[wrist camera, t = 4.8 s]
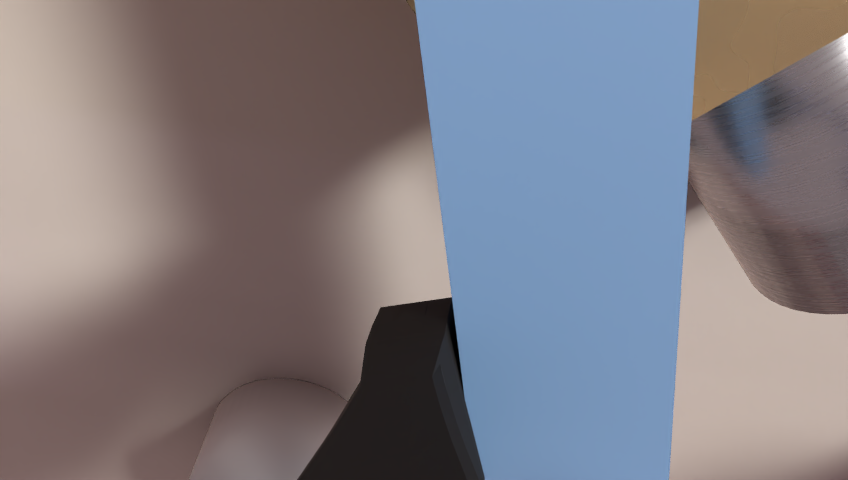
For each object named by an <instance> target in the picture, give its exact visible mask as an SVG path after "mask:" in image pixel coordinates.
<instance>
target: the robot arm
mask: <svg viewBox="0 0 848 480" xmlns="http://www.w3.org/2000/svg"><path fill="white" fill-rule="evenodd" d="M297 480H485V476H484V472H483V468H482V465H481V461H480V457H479V453H478V449H477V445H476V441H475V437H474V433H473V429H472V425H471V421H470V418H469V414H468V410H467V406H466V402H465V397H464V389H463V381H462V373H461V365H460V357H459V349H458V341H457V333H456V325H455V318H454V310H453V302H452V298H444V299H437V300H430V301H423V302H416V303H409V304H402V305H395V306H388V307H381V308H380V310H379V312H378V315H377V317H376V319H375V321H374V323H373V325H372V328H371V331H370V334H369V336H368V339H367V342H366V346H365V353H364V360H363V367H362V374H361V381H360V383H359V385H358V386H357V388H356V390H355V391H354V393H353V394H352V396H351V398H350V399H349V401H348V403H347V404H346V406H345V408H344V409H343V411H342V413H341V414H340V416H339V418H338V419H337V421H336V422H335V424H334V426H333V427H332V429H331V430H330V432H329V433H328V435H327V437H326V438H325V440H324V441H323V443H322V444H321V445H320V447H319V448H318V450H317V451H316V453H315V454H314V456H313V457H312V459H311V460H310V461H309V463H308V464H307V466H306V467H305V469H304V470H303V472H302V473H301V475H300V476H299V477H298V479H297Z"/></svg>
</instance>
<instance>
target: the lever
mask: <svg viewBox="0 0 848 480" xmlns="http://www.w3.org/2000/svg"><path fill="white" fill-rule="evenodd" d="M414 1H415V9H416V17H417V25H418V33H419V41H420V49H421V56H422V64H423V72H424V80H425V88H426V96H427V104H428V112H429V120H430V128H431V136H432V144H433V151H434V159H435V167H436V175H437V183H438V191H439V199H440V207H441V215H442V223H443V231H444V238H445V246H446V254H447V262H448V270H449V278H450V286H451V294H452V302H453V310H454V318H455V325H456V333H457V341H458V349H459V357H460V365H461V373H462V381H463V389H464V397H465V402H466V406H467V410H468V414H469V418H470V421H471V425H472V429H473V433H474V437H475V441H476V445H477V449H478V453H479V457H480V461H481V465H482V468H483V472H484V476H485V480H669V471H670V455H671V439H672V423H673V407H674V391H675V375H676V360H677V344H678V328H679V312H680V296H681V280H682V264H683V248H684V233H685V217H686V201H687V185H688V169H689V153H690V137H691V122H692V106H693V90H694V74H695V58H696V42H697V26H698V11H699V0H414Z"/></svg>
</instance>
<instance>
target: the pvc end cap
mask: <svg viewBox="0 0 848 480" xmlns="http://www.w3.org/2000/svg"><path fill="white" fill-rule="evenodd" d="M347 403H348V402H347V401H346V400H345V399H343V398H342V397H341V396H339V395H338V394H336V393H334V392H332V391H330V390H328V389H326V388H324V387H321V386H319V385H316V384H313V383H310V382H306V381H301V380H295V379H286V378H274V379H264V380H259V381H254V382H251V383H248V384H245V385H243V386H241V387H239V388H237V389H235V390H234V391H232V392H231V393H229V394H228V395H227V396H226V397H225V398H224V399H223V400H222V401H221V403H220V404H219V405H218V407H217V409H216V411H215V414H214V416H213V419H212V421H211V424H210V426H209V429H208V431H207V434H206V436H205V439H204V442H203V444H202V447H201V449H200V452H199V454H198V457H197V459H196V462H195V464H194V467H193V470H192V472H191V475H190V477H189V480H297V479H298V477H299V476H300V475H301V473H302V472H303V470H304V469H305V467H306V466H307V464H308V463H309V461H310V460H311V459H312V457H313V456H314V454H315V453H316V451H317V450H318V448H319V447H320V445H321V444H322V443H323V441H324V440H325V438H326V437H327V435H328V433H329V432H330V430H331V429H332V427H333V426H334V424H335V422H336V421H337V419H338V418H339V416H340V414H341V413H342V411H343V409H344V408H345V406H346V404H347Z"/></svg>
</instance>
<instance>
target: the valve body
mask: <svg viewBox="0 0 848 480" xmlns="http://www.w3.org/2000/svg"><path fill="white" fill-rule="evenodd" d="M406 2H407V3H408V4H409V6H410V7H411V8H412V10H413V11H414V13H415V14H416V9H415V1H414V0H406ZM688 181H689V183H690V184H691V186H692V188H693V189H694V191H695V193H696V194H697V196H698V197H699V199H700V201H701V202H702V204H703V205H704V207H705V209H706V210H707V212H708V213H709V215H710V217H711V218H712V220H713V222H714V223H715V225H716V226H717V228H718V230H719V231H720V233H721V234H722V236H723V238H724V239H725V241H726V243H727V244H728V246H729V247H730V249H731V251H732V252H733V254H734V255H735V257H736V259H737V260H738V262H739V263H740V265H741V267H742V268H743V270H744V272H745V273H746V275H747V276H748V278H749V280H750V281H751V283H752V284H753V286H754V287H755V288H756V289H757V290H758V291H759V292H760V293H761V294H763V295H764V296H765V297H767V298H768V299H770V300H771V301H773V302H775V303H778V304H780V305H782V306H785V307H788V308H791V309H794V310H798V311H804V312H809V313H819V314H848V0H699V11H698V26H697V42H696V58H695V74H694V90H693V106H692V122H691V137H690V153H689V169H688Z"/></svg>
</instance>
